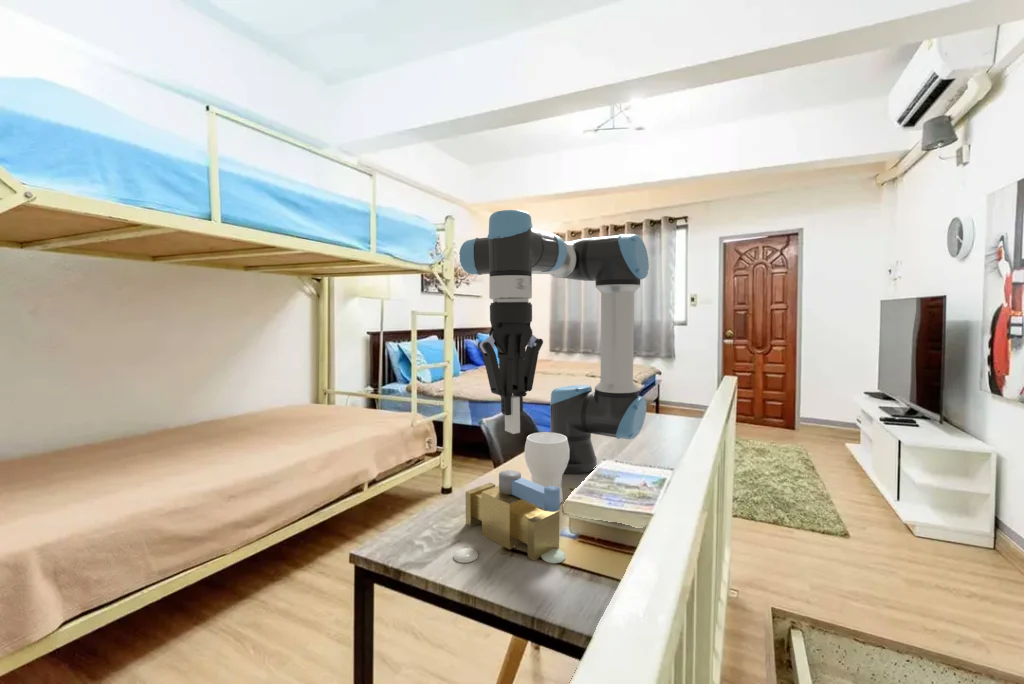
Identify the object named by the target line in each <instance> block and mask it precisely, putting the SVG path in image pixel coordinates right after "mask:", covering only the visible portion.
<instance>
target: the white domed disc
mask: <svg viewBox="0 0 1024 684" xmlns="http://www.w3.org/2000/svg"><path fill="white" fill-rule="evenodd" d="M478 558H479V554H478V551H477V550H476V549H473V548H469V547H465V548H460V549H458V550H456V551H455V552H454V553H453V559H454V561H455V562H458V563H461V564H467V563H472V562H474V561H476V560H477V559H478Z"/></svg>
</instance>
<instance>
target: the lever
mask: <svg viewBox="0 0 1024 684" xmlns="http://www.w3.org/2000/svg"><path fill="white" fill-rule="evenodd" d="M498 486H499V491H500V492H501V493H503V494H512V495H514V496H517V497H519V498H521V499H523V500H525V501H528V502H530V503H532V504H534V505H537V506H538V508H541V509H542V510H544V511H549V512H556V511H558V510H559V511H560V509H561V507H560V506H561V503H560V488H559V487H556V486H547V487H544V486H542V485H539V484H537V483H534V482H532V480H529V479H526V478H523V477H522V473H521V472H520V471H517V470H513V469H509V470H507V469H506V470H503V471H501V472H498Z"/></svg>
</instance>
